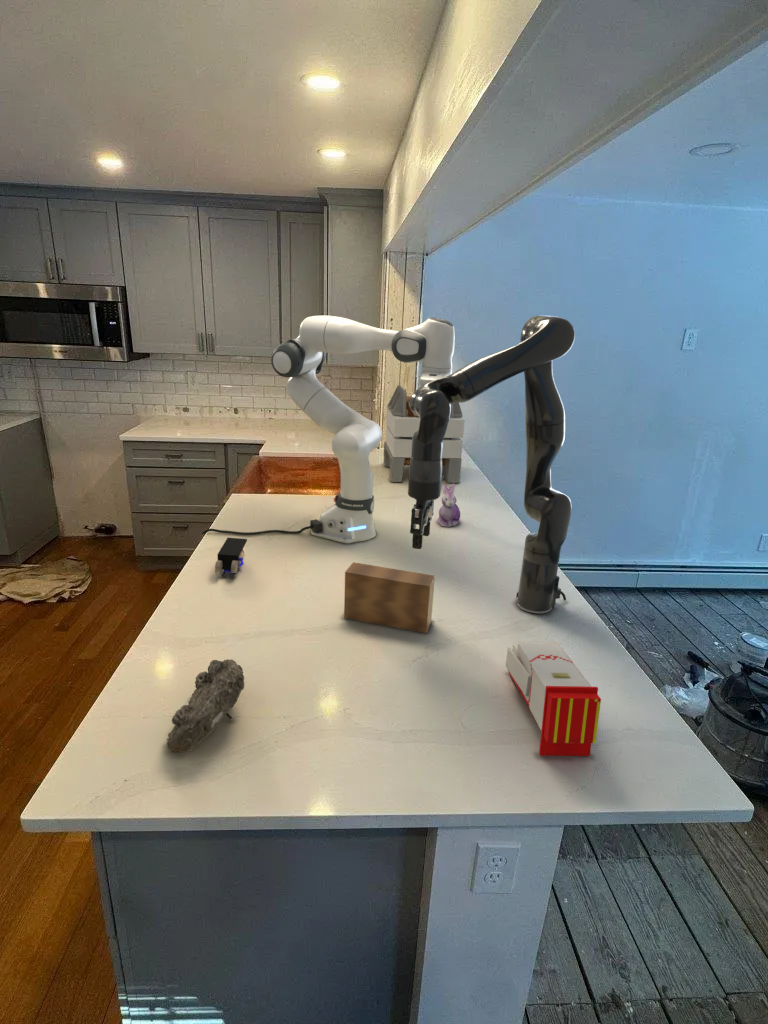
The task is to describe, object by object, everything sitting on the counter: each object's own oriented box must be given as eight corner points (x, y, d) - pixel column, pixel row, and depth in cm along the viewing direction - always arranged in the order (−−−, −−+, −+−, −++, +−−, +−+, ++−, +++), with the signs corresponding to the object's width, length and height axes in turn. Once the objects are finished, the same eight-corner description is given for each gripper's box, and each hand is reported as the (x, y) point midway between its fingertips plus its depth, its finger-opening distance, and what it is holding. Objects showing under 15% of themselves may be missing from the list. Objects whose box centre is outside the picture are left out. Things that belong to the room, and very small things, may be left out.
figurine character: (238, 584, 162) (249, 557, 175) (236, 562, 158) (247, 536, 172) (215, 584, 161) (227, 556, 175) (212, 561, 158) (225, 535, 171)
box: (343, 617, 145) (344, 571, 140) (351, 606, 150) (353, 562, 146) (426, 633, 139) (430, 586, 135) (431, 621, 145) (435, 575, 140)
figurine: (445, 529, 206) (449, 489, 200) (430, 519, 214) (433, 481, 209) (467, 525, 210) (470, 487, 205) (451, 516, 218) (454, 479, 213)
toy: (554, 624, 127) (610, 694, 97) (548, 679, 130) (602, 763, 100) (500, 623, 126) (541, 693, 97) (496, 678, 129) (534, 763, 100)
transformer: (382, 463, 289) (386, 382, 275) (445, 464, 293) (451, 384, 279) (390, 482, 257) (394, 392, 243) (460, 483, 261) (468, 394, 247)
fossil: (192, 660, 117) (244, 628, 112) (224, 691, 120) (276, 661, 115) (142, 746, 98) (202, 712, 93) (182, 779, 101) (242, 748, 96)
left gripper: (432, 372, 175) (428, 417, 180) (418, 379, 157) (414, 429, 161) (452, 374, 174) (447, 419, 178) (441, 381, 155) (436, 431, 160)
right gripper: (435, 487, 122) (430, 555, 128) (446, 470, 135) (441, 533, 141) (401, 483, 124) (398, 550, 130) (416, 467, 137) (412, 529, 143)
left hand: (432, 424), depth 170 cm, fingers open, 8 cm apart
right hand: (421, 541), depth 135 cm, fingers open, 8 cm apart
